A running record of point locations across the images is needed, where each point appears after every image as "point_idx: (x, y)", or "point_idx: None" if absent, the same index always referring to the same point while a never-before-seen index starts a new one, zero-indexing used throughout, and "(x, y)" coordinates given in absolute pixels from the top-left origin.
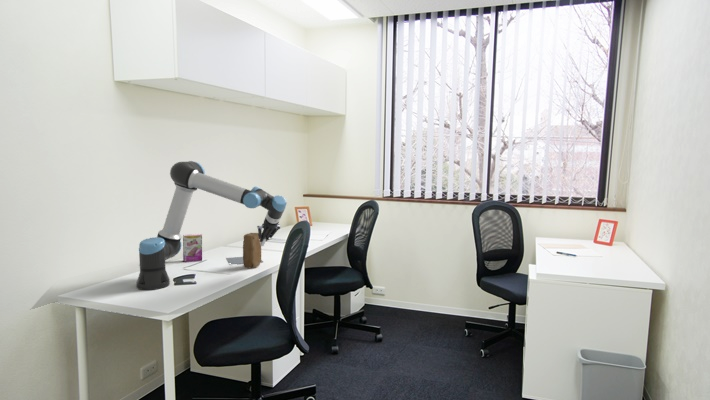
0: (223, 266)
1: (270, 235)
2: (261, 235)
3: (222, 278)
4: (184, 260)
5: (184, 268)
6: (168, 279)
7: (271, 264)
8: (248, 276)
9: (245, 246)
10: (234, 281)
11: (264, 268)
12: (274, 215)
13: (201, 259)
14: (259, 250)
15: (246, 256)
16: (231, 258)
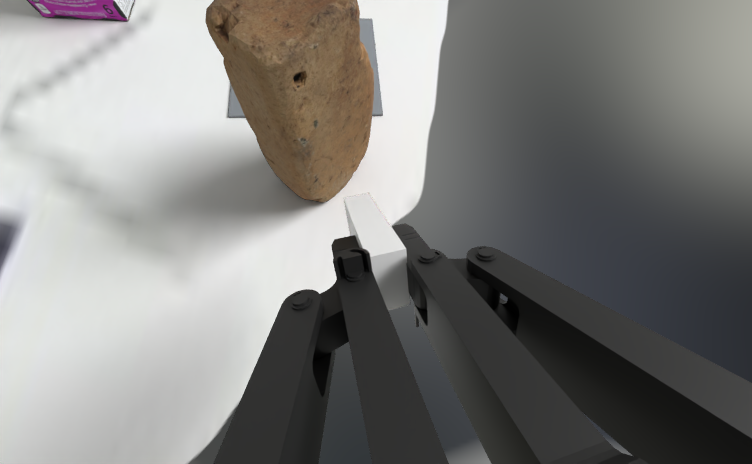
0: (194, 130)
1: (487, 301)
2: (320, 448)
3: (127, 355)
4: (41, 10)
5: (8, 113)
6: None
7: (414, 159)
8: None
9: (250, 114)
10: (174, 445)
11: None
12: None
13: (121, 15)
14: (359, 123)
15: (275, 163)
16: None
